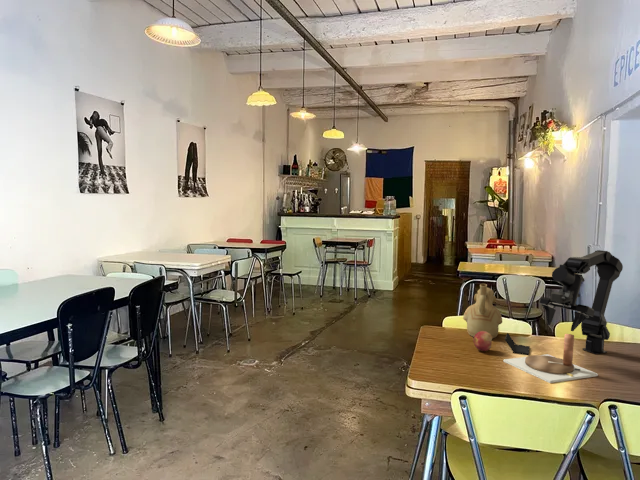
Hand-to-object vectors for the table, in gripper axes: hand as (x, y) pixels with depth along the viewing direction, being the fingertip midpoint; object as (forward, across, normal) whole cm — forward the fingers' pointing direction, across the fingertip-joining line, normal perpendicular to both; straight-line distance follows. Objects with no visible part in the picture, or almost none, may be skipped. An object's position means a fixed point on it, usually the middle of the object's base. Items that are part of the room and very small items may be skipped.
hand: (559, 328), depth 174 cm
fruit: (+18, -23, -9) cm, 31 cm away
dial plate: (+16, +3, -4) cm, 17 cm away
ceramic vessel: (+12, -38, +8) cm, 41 cm away
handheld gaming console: (+13, -17, +4) cm, 22 cm away
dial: (+15, +3, -5) cm, 16 cm away
